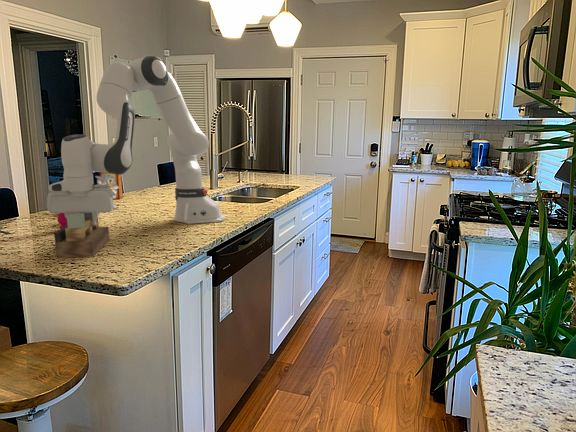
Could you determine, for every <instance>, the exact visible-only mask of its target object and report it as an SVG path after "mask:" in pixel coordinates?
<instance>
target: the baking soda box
mask: <svg viewBox="0 0 576 432" xmlns="http://www.w3.org/2000/svg"><path fill="white" fill-rule="evenodd" d="M103 174H106V177H108V176H112V177H111V178H109V179H108V180H109V181H110V182H111V181H112V179H114V180H115V183H114V185H117V186H118V187H119V188H118V189H115V190H117V193H116V194H114V195H113V196H115V197H116V198H115V199H113V201H114V200H115V201H116V200H117V201H118V200H121V199H123V198H124V193H123V181H122V180H123V179H122V174H121V175H119V174H112V173H104V172H99V176H100V177H101V178H102V175H103ZM101 183H102V184H103V183H104V182H102V181H101ZM105 183H106V181H105Z"/></svg>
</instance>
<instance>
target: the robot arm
mask: <svg viewBox="0 0 576 432" xmlns="http://www.w3.org/2000/svg"><path fill="white" fill-rule="evenodd" d="M102 75H103V76H102V77H101V80H100V83H99V85H98V89H97V92H96V103H97V105H98V107H99V108H100V110H101V111H103V112H104V113H105V114H107V116H110V117H112V118H114V119H116V122H117V124H116V131H115V132H116V134H115V140H114V141H113V142H112V143H110V144H107V143H106V144H105V143H102V144H101V143H97V142H94V141H92V140H91V139H90V138H89V137H88V135H86V134H83V133H82V134H80V133H79V134H78V133H77V134H76V133H75V134H70V135H66V136H64V137H63V138H62V139H61V140H62V141H61V145H60V146H61V147H60V153H61V164H62V166H63V175H62V177H63V180H59V181H57V182H52V183H51V184H49V185H48V187H47V188H48V191H49V192H48V194H47V196H46V197H47V199H46V208H47V211H48V212H49V213H50V214H59V213H65V217H66V218H67V216H68V215H69V214H71V213H92V212H93V216H94V218H93V219H91V220H90V225H96V219H97V217H98V218H99V216H100V213H111V212H112V211H113V209H115V208H114V205H115V203H114V200H113V199H112V196H113V190H112V188H111V187H110V186H108V185H106V184H104V185H98V184H95V182H94V173H95V172H96V173H100V172H104V173H112V174H119V175H121V176H122V175H124V174H125V173H127V172H128V171H129V169H130V168H131V166H132V164H133V151H132V150H133V139H134V132H135V131H134V130H135V129H134V128H135V114H136V113H135V109H134V107H133V106H132V105H131V98H132V94H133V93H135V92H136V93H137V92H140V91H146V90H149V92H151V94H152V96H153V100H154V102H155V105H156V107H157V109H158V111H159V114H160V116H161V119H162V120H163V122H164V124H165V125H166V126H167V127H168V128H169V129H170V131H171V132H170V133H169V135H168V136H167V139H166V142H167V143H166V144H167V147H168V149H169V151H170V152H171V158H172V161H173V167H174V173H175V188H174V195H175V201H176V202H175V204H176V205H175V213H174V217H173V220H174V221H175V222H179V223H183V224H187V225H188V224H189V225H191V224H202V223H207V224H208V223H219V222H224V221H225V220H226V215H225V214H224V213H222V212H221V208H220V206H219V205H220V204H219V203H217V201H215V200H213V199H212V198H210V196H208V189H207V188H205V187H204V186H203V183H202V182H203V179H202V178H203V176H202V168H201V166H200V164H199V162H198V159H197V157H199V156H202V155H204V154H205V153H206V152H207V151H208V150H209V147H210V141H209V138H208V136H207V135H206V134H205V133H204V132H203V131H202V130H201V129H200V127H199V125H198V124H197V123H196V121H195V119H194V118H193V117H192V114H191V112H190V111H189V109H188V106H187V104H186V101H185V99H184V97H183V94H182V92H181V90H180V87H179V86H178V83H177V81H176V80H175V78H174V77H173V75H172V74H171V72H169V71H168V67H167V66H166V63H165V62H164V61H163V60H162V59H161V57H158V56H154V55H149V56H145V57H140V58H137V59H134V60H132V61H131V62H128V63H124V62H120V61H114V62H112V63H110V64H109V65H108V66H107V68H106V69H105V70H104V73H103V74H102ZM93 172H94V173H93ZM108 187H110V188H108Z"/></svg>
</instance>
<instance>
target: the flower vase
mask: <svg viewBox="0 0 576 432" xmlns="http://www.w3.org/2000/svg"><path fill="white" fill-rule="evenodd" d="M94 177H95V178H96V183H97V184H98V185H104V184H106V185H108V186H110V187H111V188H112V190H113V195H114V194H116V193H117V190H115V189H118V188H119V187H118V186H117V185H114V183H115V180H114V179H112V181H111V182H110V181H109V180H108V179H109V178H111V177H112V176H108V177H106V174H103V175H102V178H101V177H100V175H95V176H94ZM101 181H102V182H104V183H103V184H102V183H101ZM105 181H106V183H105ZM110 187H108V188H110ZM115 198H116V197H115V196H112V199H115ZM118 206H119V205H118ZM118 206H117V205H115V204H114V209H117V208H118Z"/></svg>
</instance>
